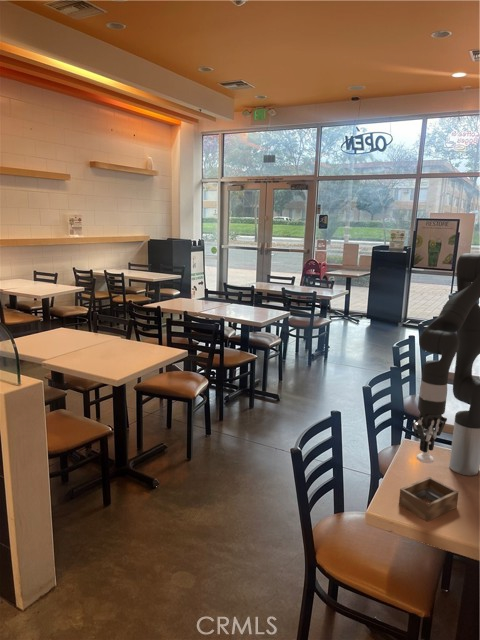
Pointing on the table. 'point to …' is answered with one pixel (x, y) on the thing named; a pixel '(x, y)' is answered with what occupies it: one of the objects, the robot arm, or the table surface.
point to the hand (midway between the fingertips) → (426, 450)
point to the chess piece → (426, 455)
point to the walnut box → (432, 490)
